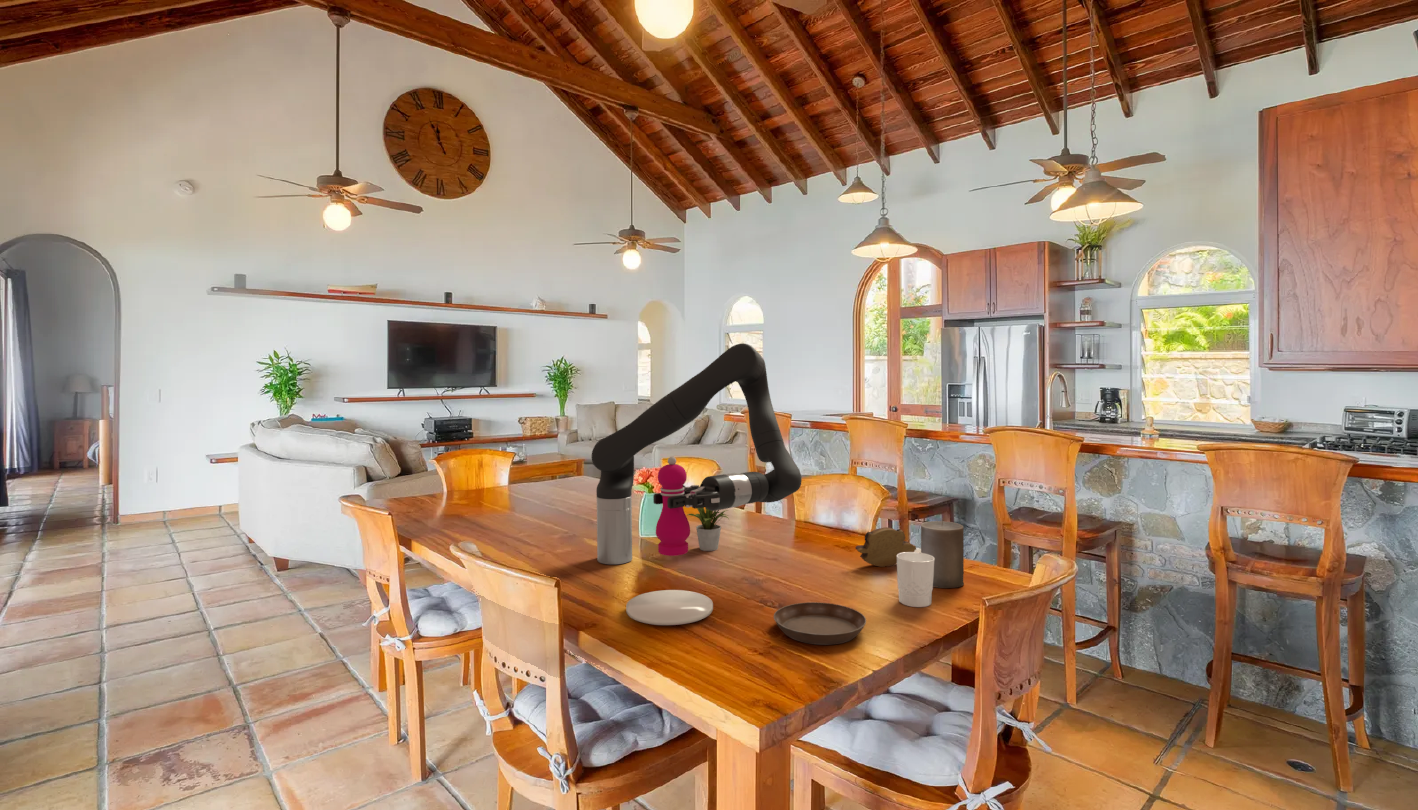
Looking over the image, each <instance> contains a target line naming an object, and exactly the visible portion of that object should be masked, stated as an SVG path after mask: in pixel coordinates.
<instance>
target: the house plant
mask: <svg viewBox="0 0 1418 810" xmlns="http://www.w3.org/2000/svg"><path fill="white" fill-rule="evenodd" d="M696 510H697V511H698V513H695V514H694V513H688V514H687V516H690V517H692V516H693V517H695V518H698V520H699V521H700V523H701V524H698V525H696V526H695V529H696V535H697V541H698V546H699V548H698V549H700V551H704V552H713V551H718V550H719V549H718V548H719V544H720V538H721V537H720V536H721V530H722V526H721V525H719V524H717V522H718V520H719V519H720V518H726V519H728V520H730V518H729V517H728V516H730V515H727V514H726V513H725V512H727V511H729V510H728V509H724V510H723V511H721V512H720V510H716V511H711V510H708V509H707V508H706V507H703V508H696Z"/></svg>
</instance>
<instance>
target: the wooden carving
mask: <svg viewBox="0 0 1418 810" xmlns="http://www.w3.org/2000/svg"><path fill="white" fill-rule="evenodd" d="M905 535H906V534H905V531H903V530H902V529H900V528H898V529H895V528H892V527H886V526H885V527H879V528H876V529H873V530H871V531H867V532H866V533H865V535H864V541H865V542H864V544H863V545H862V544H861V545H860V544H859V545H856V546H855V550H857V552H858V553H861V554H860V556H859V557H860V558H861V559H862V560H863V561H864V562H866V563H867V564H869V565H873V566H876V567H880V568H886V567H885V566H887V567H891V566H894V565H897V554H899V553H903V552H916V550H917V546H916V545H914V544H912V543H911V542H909V541H907V540H906V536H905Z"/></svg>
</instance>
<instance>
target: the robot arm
mask: <svg viewBox="0 0 1418 810" xmlns="http://www.w3.org/2000/svg"><path fill="white" fill-rule="evenodd" d="M766 367H767V365H766V362H765V359H764V357H763V356H762V355H761V354H760V353H759V352H758V350H757V349H756V348H754V347H753V346H752V345H750V344H748V343H743V342H742V343H737V344H734V345H732V346H731V347H729V348H727V349H726V350H725V351H724V352H723V353H722V354H720V355H719V356H718V357H717V358H716V359H715V360H713V361H712V362H711V363H710V364H709V365H707V366H706V367H705V368H704V369H703V370H701V371H700V372H698V373H697V374H696V375H693V377H691V378H689V379H688V380H687V381H685V382H684V383H682V384H681V385H679V386H678V387H677V388H675V389H673V390H671V392H669V393H667V394H665V395H664V396H663V397H662V398H660V399H659V400H658V401H656V402H655V403H654V404H652V405H651V406H650V407H648V408H647V409H646V410H645V411H643V412H642V413H641V414H640V415H639V416H637V417H636V418H635V419H634V420H633V421H630V423H629V424H627V425H625V426H624V427H622V428H620V429H619V430H617V431H615V432H613V433H611V434H610V435H608V436H605V437H603V438H602V439H600V440H598V441H597V442H596V443H595V445H594V446H593V448H592V451H591V462H592V464H593V466H594V467H595V468H596V469H597V470H598V471H600V478H599V481H598V484H597V485H596V491H595V492H596V540H597V541H596V543H597V544H596V546H597V550H596V551H597V558H596V559H597V562H598V563H600V564H604V565H621V564H626V563H630V562H631V561H632V560H633V521H632V520H633V511H632V509H633V506H632V505H633V504H632V503H633V501H632V494H633V493H632V491H633V490H632V489H633V485H634V479H635V477H634V476H635V472H634V471H635V455H638V453H640V452H641V451H643V449H645V448H646V447H648V446H650V445H652V444H654V443H656V442H658V441H661V440H663V439H664V438H667V437H669V436H671V435H672V434H674V433H676V432H678V431H679V430H681V429H682V428H684V427H685V426H687V425H688V424H690V423H691V422H693V421H694V420H696V418H698V417H699V416H700V415H701V414H702V413H703V411H704V410H705V409H706V407H707V405H708V404H709V402H711V400H712V399H713V398H714V397H715V396H716V395H717V394H718V393H719V392H721V391H722V390H723V389H725V388H727V387H728V386H730V385H731V384H733V383H735V382H736V383H738V385H739V387H740V389H741V392H742V394H743V396H744V398H745V401H746V406H747V410H748V422H749V430H750V435H751V440H752V442H753V445H754V449H755V453H756V456H757V458H758V460H759V461H760V462H761V463H762V462H763V463H771V466H773V469H772V470H770V471H769V472H766V473H765V474H763V473H762V472H759V471H746V472H741V473H735V472H732V473H724V474H717V475H708V476H706V477H705V478H703V479H702V481H701V483H700V485H699V484H691V485H690V486H686V485H684V484H683V487H684V495H682V496H675V497H669V498H668V499H667V505H668V508H671V509H672V508H678V507H683V508H684V507H685V508H686V509H687V508H692V509H696V510H697V508H703V507H704V508H705V507H706V508H707V509H708V510H711V511H713V512H714V511H716V512H717V510H719V511H721V510H728V509H731V508H737V507H740V506H743V505H748V504H753V503H754V504H755V503H758V502H759V503H775V502H776V503H777V502H779V501H782V500H784V499H785V498H787V497H789V496H790V495H793V494H794V493H796V492H797V491H798V490H800V488H801V486H802V474H801V471H800V469H799V467H798V465H797V464H796V462H795V460H794V458H793V457H792V456H791V454H790V453H789V451H788V450H787V448H786V445H785V443H784V439H783V436H782V433H781V430H780V427H779V423H778V420H777V417H776V413H775V410H774V407H773V404H772V399H771V394H770V389H769V381H768V373H767V368H766ZM660 493H661V492H657V493H654V494H653V499H652V500H653V504H654V505H663V497H662V495H661V494H660Z"/></svg>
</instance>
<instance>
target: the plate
mask: <svg viewBox="0 0 1418 810" xmlns="http://www.w3.org/2000/svg"><path fill="white" fill-rule="evenodd" d="M625 610H626V611H625V612H626V615H627V616H628V617H629V618H631V619H632V620H635V621H636V622H640V623H644V624H647V625H648V624H649V625H654V626H676V625H677V626H678V625H686V624H690V623H695V622H698V621H702V619H705V618H707V617H709V616H710V615H711V614H712V612H713V610H714V603H713V600H712V599H711V598H710V597H709V596H707V595H704V594H702V593H699V592H695V591H689V590H683V589H665V590H655V591H654V590H653V591H649V592H645V593H641V594H639V595H636V596H634V597H632V598H631V599H629V600H628V601H627V602H626V608H625Z"/></svg>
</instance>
